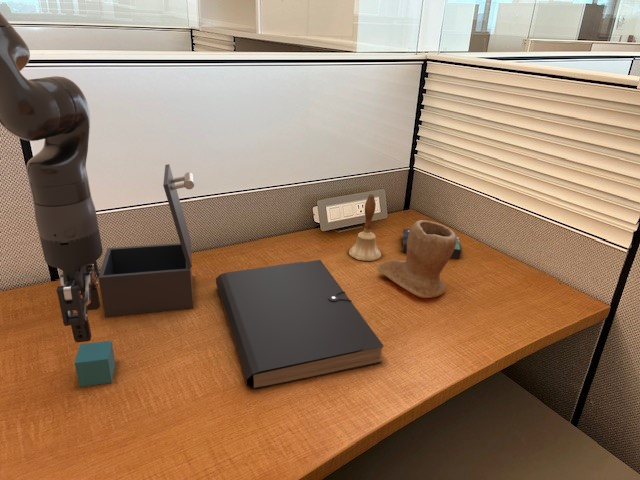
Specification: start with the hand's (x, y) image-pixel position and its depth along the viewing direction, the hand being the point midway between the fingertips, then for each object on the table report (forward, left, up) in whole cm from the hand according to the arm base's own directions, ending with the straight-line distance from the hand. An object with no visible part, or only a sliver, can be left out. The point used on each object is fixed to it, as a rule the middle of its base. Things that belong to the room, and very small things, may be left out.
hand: (88, 323), depth 74 cm
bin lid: (-10, +25, +8) cm, 28 cm away
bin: (-14, +20, -10) cm, 27 cm away
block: (0, 0, -10) cm, 10 cm away
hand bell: (+9, +67, -10) cm, 68 cm away
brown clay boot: (+26, +62, -10) cm, 68 cm away
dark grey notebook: (+14, +32, -10) cm, 36 cm away
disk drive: (+20, +82, -10) cm, 85 cm away
